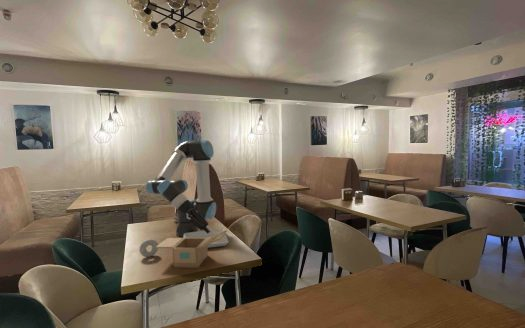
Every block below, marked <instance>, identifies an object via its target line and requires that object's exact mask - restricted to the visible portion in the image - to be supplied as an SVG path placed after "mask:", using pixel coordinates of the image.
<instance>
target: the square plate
mask: <svg viewBox="0 0 525 328" xmlns="http://www.w3.org/2000/svg"><path fill="white" fill-rule="evenodd" d="M212 230H213V231H214V232H215V233H216V234H218V233H220V232H223V231H225V230H226V229H224V228H222V229H219V228H218V229H212ZM208 237H210V236H209V235H208V234H207V233H206V232H205V231H204V230H202V231H201V230H198V231H197V232H189V233H184V236H183V237H182V238H183V239H184V238H208ZM227 244H229V238H228V236H227V232H226V233H225V235H224V236H223V237H222V239H221V240H219V241H216V242H214V243H211V244H209V245H207V249H209V248H218V247H225V246H227Z"/></svg>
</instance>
